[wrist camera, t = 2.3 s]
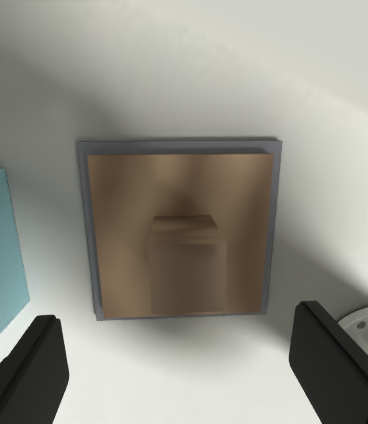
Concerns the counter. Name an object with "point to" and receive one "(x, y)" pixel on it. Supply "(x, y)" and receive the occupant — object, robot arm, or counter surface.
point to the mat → (174, 148)
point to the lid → (180, 232)
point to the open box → (10, 261)
